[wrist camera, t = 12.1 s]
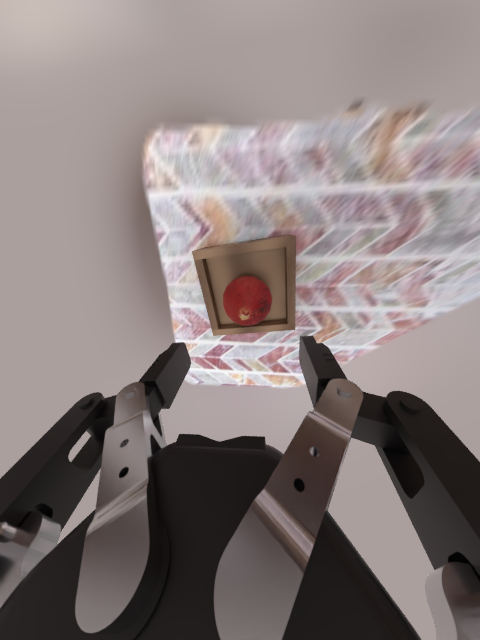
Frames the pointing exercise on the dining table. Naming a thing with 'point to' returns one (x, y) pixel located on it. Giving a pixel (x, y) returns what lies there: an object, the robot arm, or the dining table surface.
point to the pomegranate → (247, 300)
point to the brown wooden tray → (249, 260)
